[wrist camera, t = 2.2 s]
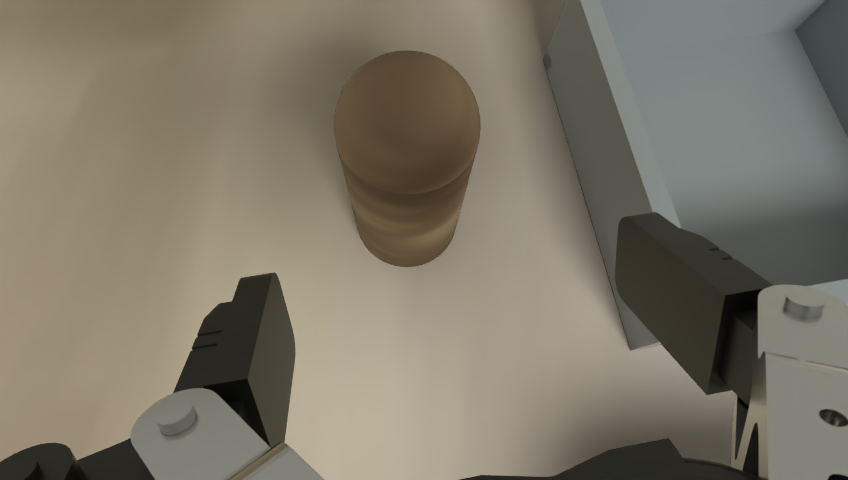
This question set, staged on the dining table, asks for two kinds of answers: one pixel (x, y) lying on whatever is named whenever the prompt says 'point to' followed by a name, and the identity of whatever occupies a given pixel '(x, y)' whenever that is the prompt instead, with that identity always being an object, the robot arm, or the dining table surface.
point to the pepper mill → (407, 153)
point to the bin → (712, 128)
